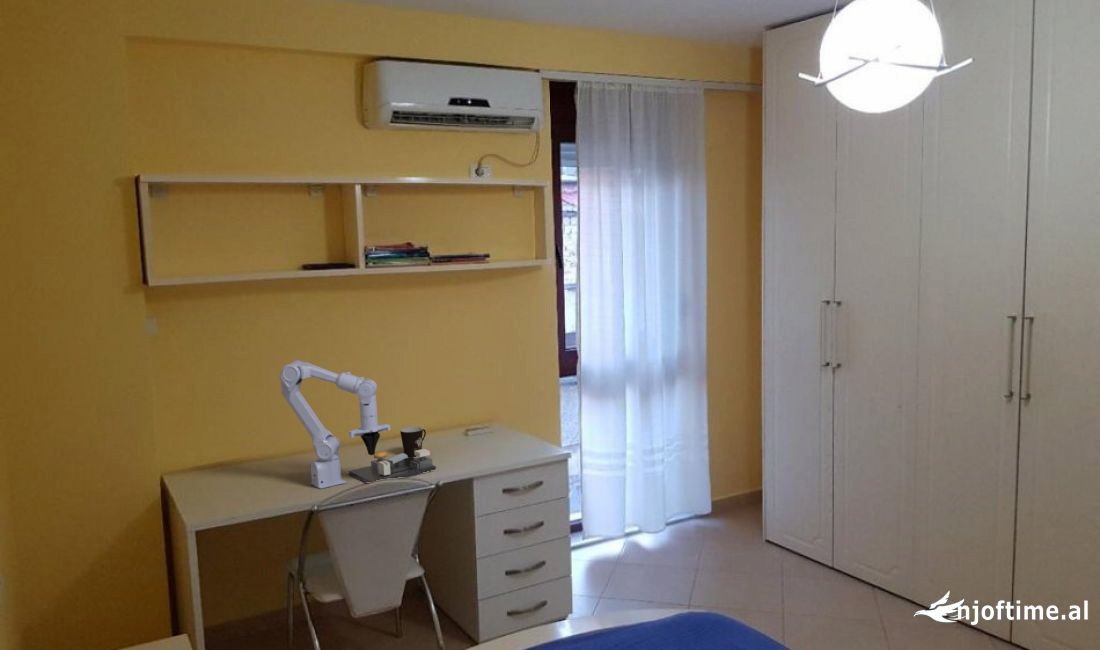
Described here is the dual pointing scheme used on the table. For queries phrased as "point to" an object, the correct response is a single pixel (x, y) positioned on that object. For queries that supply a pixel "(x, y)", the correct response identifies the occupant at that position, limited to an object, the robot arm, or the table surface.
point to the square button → (422, 453)
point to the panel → (394, 469)
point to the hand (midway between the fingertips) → (371, 454)
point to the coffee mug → (412, 440)
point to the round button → (380, 455)
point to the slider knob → (384, 467)
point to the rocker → (397, 458)
